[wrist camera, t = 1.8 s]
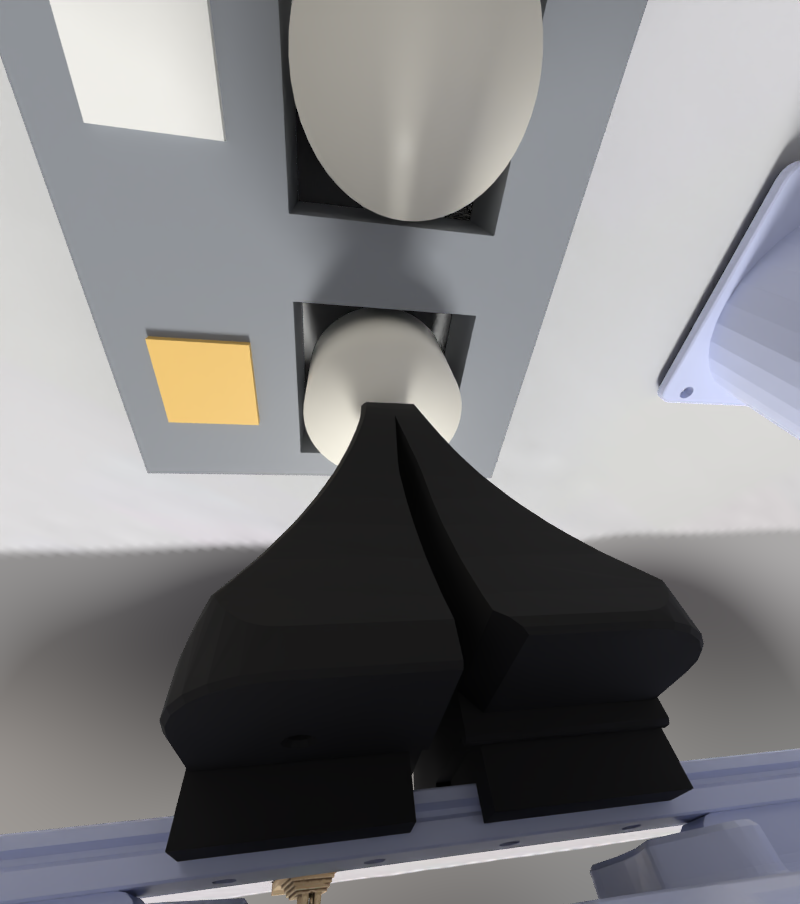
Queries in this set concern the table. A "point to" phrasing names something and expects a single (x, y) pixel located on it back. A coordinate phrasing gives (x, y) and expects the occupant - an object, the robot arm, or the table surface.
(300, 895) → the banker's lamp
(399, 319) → the button end
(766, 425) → the table surface
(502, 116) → the button middle
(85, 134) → the button board
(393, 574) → the robot arm
